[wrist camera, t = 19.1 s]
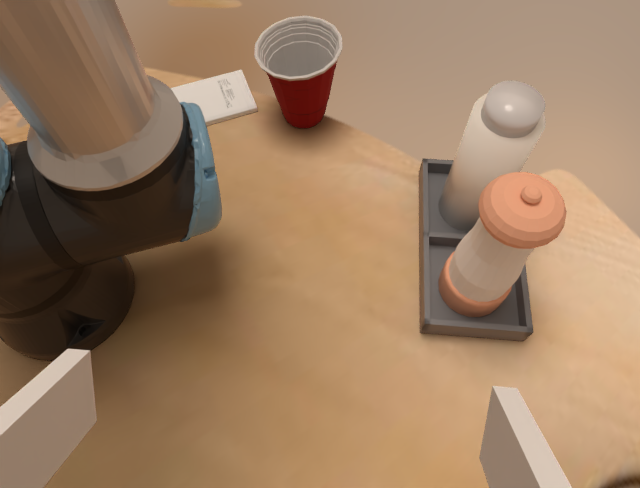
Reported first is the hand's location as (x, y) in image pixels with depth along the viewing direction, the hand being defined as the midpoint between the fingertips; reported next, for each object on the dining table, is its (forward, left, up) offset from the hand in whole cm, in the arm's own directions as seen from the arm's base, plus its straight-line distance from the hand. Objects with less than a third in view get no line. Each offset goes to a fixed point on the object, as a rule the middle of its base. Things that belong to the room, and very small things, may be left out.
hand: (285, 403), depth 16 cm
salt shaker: (+16, +31, -35) cm, 49 cm away
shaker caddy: (+16, +26, -36) cm, 47 cm away
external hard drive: (-20, +47, -36) cm, 62 cm away
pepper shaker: (+16, +20, -35) cm, 43 cm away
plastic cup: (-6, +46, -36) cm, 58 cm away
